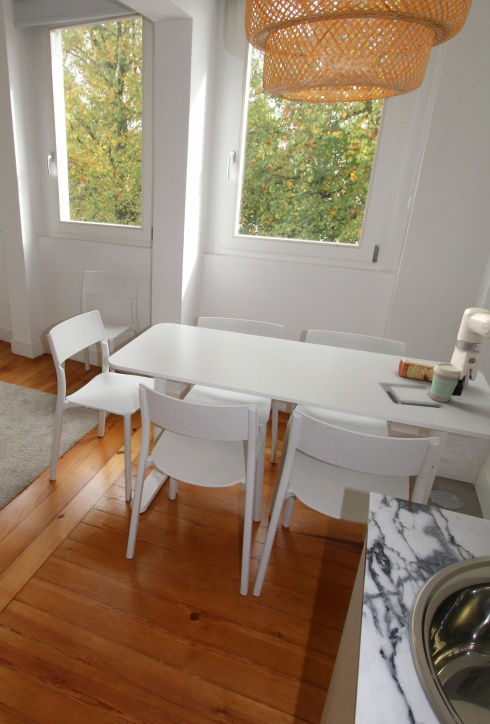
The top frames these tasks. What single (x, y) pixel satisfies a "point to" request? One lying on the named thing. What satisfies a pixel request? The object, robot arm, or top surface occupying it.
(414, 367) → the snack package
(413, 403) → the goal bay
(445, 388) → the coffee cup
